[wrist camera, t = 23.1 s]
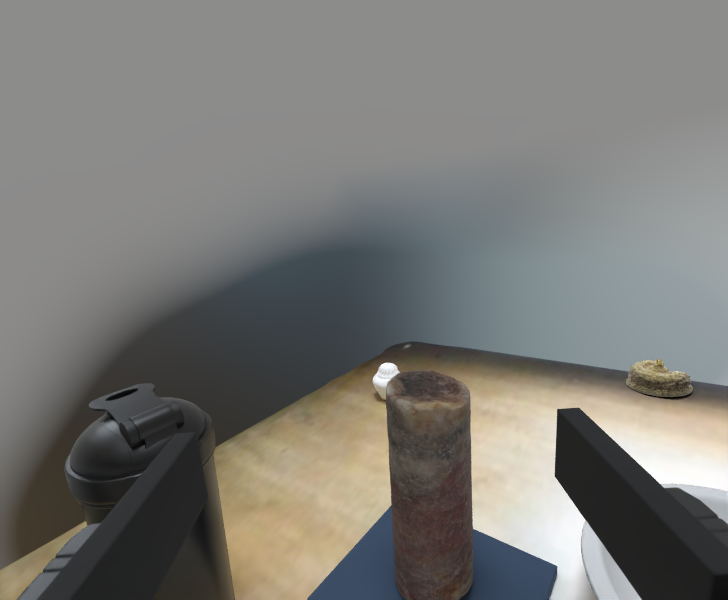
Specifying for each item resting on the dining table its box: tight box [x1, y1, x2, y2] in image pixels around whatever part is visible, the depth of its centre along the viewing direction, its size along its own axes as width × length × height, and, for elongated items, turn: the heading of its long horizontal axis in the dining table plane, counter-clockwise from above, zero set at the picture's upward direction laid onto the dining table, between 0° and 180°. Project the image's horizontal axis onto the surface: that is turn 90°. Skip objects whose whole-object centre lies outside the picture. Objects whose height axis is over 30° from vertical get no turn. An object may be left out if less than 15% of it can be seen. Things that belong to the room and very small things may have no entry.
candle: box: [386, 370, 473, 600], centre depth 36 cm, size 8×7×20 cm
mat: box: [307, 505, 557, 600], centre depth 38 cm, size 18×16×1 cm
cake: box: [626, 359, 693, 397], centre depth 73 cm, size 10×10×5 cm
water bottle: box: [65, 383, 235, 600], centre depth 33 cm, size 10×10×23 cm
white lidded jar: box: [373, 363, 400, 400], centre depth 77 cm, size 6×6×7 cm
